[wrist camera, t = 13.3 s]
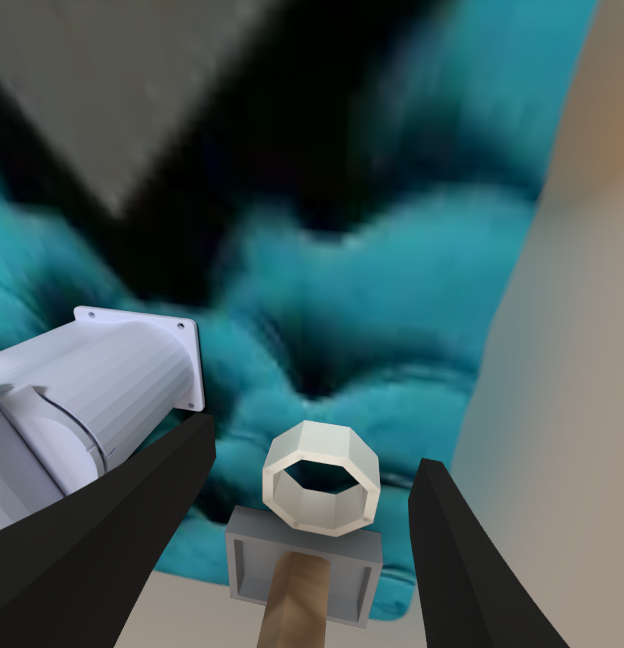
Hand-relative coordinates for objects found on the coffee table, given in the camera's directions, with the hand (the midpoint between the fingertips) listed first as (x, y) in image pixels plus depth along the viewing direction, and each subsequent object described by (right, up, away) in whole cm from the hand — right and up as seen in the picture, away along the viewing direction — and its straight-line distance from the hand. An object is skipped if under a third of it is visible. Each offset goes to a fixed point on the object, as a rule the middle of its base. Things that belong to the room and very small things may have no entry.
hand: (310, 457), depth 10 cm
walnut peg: (-1, -19, +19) cm, 27 cm away
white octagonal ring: (+1, -7, +14) cm, 16 cm away
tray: (-1, -19, +20) cm, 27 cm away
